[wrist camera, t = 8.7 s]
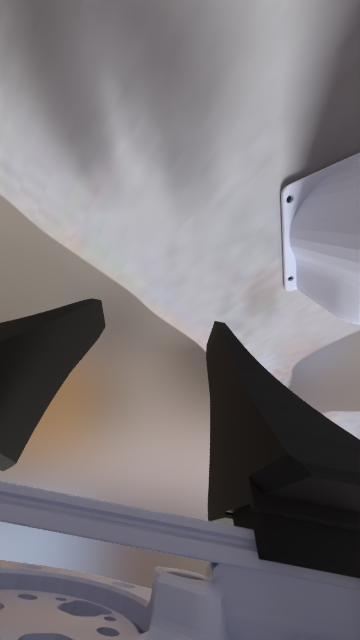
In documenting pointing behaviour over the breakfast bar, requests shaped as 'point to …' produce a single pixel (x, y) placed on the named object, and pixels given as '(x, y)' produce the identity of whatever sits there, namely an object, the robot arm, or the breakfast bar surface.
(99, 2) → the breakfast bar surface
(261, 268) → the breakfast bar surface
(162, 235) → the breakfast bar surface
